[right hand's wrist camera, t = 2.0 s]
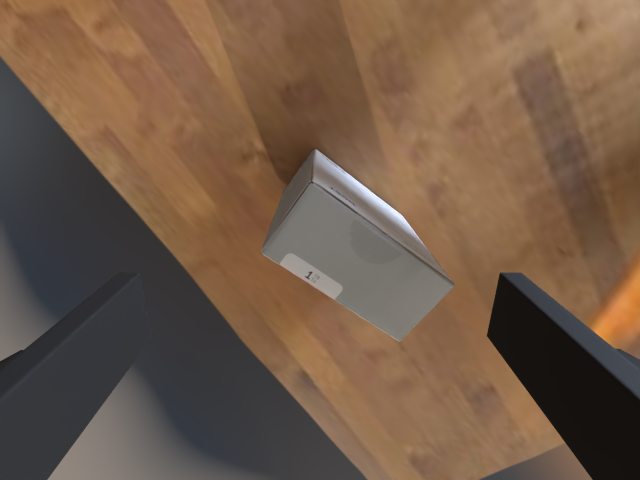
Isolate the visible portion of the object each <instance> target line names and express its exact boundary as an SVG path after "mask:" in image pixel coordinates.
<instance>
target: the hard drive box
mask: <svg viewBox="0 0 640 480" xmlns="http://www.w3.org/2000/svg"><path fill="white" fill-rule="evenodd" d="M260 253H261V254H263V255H264V256H266V257H267V258H269V259H271V260H272V261H274V262H275V263H277V264H278V265H280V266H281V267H283V268H284V269H286V270H287V271H289V272H291V273H292V274H294V275H295V276H297V277H299V278H300V279H302V280H303V281H305V282H306V283H308V284H309V285H311V286H313V287H314V288H316V289H317V290H319V291H321V292H322V293H324V294H325V295H327V296H328V297H330V298H332V299H333V300H335V301H337V302H338V303H340V304H342V305H343V306H345V307H346V308H348V309H349V310H351V311H352V312H354V313H355V314H357V315H358V316H360V317H361V318H363V319H365V320H366V321H368V322H369V323H371V324H373V325H374V326H376V327H377V328H379V329H380V330H382V331H383V332H385V333H387V334H388V335H390V336H391V337H393V338H394V339H396V340H397V341H401V340H402V339H403V338H404V337H405V336H406V335H407V334H408V333H409V332H410V331H411V330H412V329H413V328H414V327H415V326H416V325H417V324H418V323H419V322H420V321H421V320H422V319H423V318H424V317H425V316H426V315H427V314H428V313H429V312H430V311H431V310H432V309H433V307H434V306H435V305H436V304H437V303H438V302H439V301H440V300H441V299H442V298H443V297H444V296H445V295H446V294H447V293H448V292H449V291H450V290H451V289H452V288H453V287H454V283H453V282H452V280H451V279H450V278H449V277H448V275H447V274H446V273H445V271H444V270H443V269H442V267H441V266H440V265H439V263H438V262H437V261H436V259H435V258H434V257H433V255H432V254H431V253H430V251H429V250H428V249H427V248H426V246H425V245H424V244H423V242H422V241H421V240H420V238H419V237H418V236H417V234H416V233H415V232H414V230H413V229H412V228H411V226H410V225H409V224H408V223H407V221H406V220H405V219H404V217H403V216H402V215H401V214H400V213H398V212H397V211H396V210H394V209H393V208H392V207H390V206H389V205H388V204H387V203H385V202H384V201H383V200H381V199H380V198H379V197H377V196H376V195H375V194H373V193H372V192H371V191H370V190H368V189H367V188H366V187H365V186H363V185H362V184H361V183H359V182H358V181H357V180H356V179H354V178H353V177H352V176H350V175H349V174H348V173H347V172H345V171H344V170H343V169H341V168H340V167H339V166H338V165H336V164H335V163H334V162H332V161H331V160H330V159H328V158H327V157H326V156H325V155H323V154H322V153H321V152H319V151H318V150H317V149H315V150H312V151H311V153H310V154H309V155H308V157H307V158H306V160H305V161H304V162H303V164H302V165H301V167H300V168H299V170H298V171H297V173H296V174H295V176H294V177H293V178H292V180H291V181H290V183H289V184H288V186H287V187H286V189H285V190H284V192H283V195H282V197H281V200H280V203H279V205H278V208H277V210H276V213H275V216H274V218H273V221H272V223H271V226H270V229H269V231H268V234H267V237H266V240H265V242H264V245H263V248H262V250H261V252H260Z"/></svg>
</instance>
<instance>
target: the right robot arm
mask: <svg viewBox="0 0 640 480" xmlns="http://www.w3.org/2000/svg"><path fill="white" fill-rule="evenodd" d="M152 337H153V333H152V328H151V324H150V319H149V314H148V309H147V304H146V299H145V295H144V290H143V285H142V280H141V275H140V273H118V274H117V275H116V276H114V277H113V278H112V279H111V280H109V281H108V282H107V283H106V284H104V285H103V286H102V287H101V288H100V289H98V290H97V291H96V292H95V293H93V294H92V295H91V296H90V297H88V298H87V299H86V300H85V301H84V302H82V303H81V304H80V305H79V306H77V307H76V308H75V309H74V310H73V311H71V312H70V313H69V314H68V315H66V316H65V317H64V318H63V319H61V320H60V321H59V322H58V323H57V324H55V325H54V326H53V327H52V328H50V329H49V330H48V331H47V332H46V333H44V334H43V335H42V336H41V337H39V338H38V339H37V340H36V341H35V342H33V343H32V344H31V345H30V346H28V347H27V348H26V349H25V350H20V351H19V352H17V353H15V354H13V355H11V356H9V357H7V358H6V359H4V360H2V361H0V480H47V479H48V478H49V477H50V475H51V474H52V472H53V471H54V470H55V468H56V467H57V466H58V464H59V463H60V462H61V460H62V459H63V457H64V456H65V455H66V453H67V452H68V451H69V449H70V448H71V447H72V445H73V444H74V443H75V441H76V440H77V439H78V437H79V436H80V434H81V433H82V432H83V430H84V429H85V428H86V426H87V425H88V424H89V422H90V421H91V420H92V418H93V417H94V415H95V414H96V413H97V411H98V410H99V409H100V407H101V406H102V405H103V403H104V402H105V400H106V399H107V398H108V396H109V395H110V394H111V392H112V391H113V390H114V388H115V387H116V386H117V384H118V383H119V381H120V380H121V379H122V377H123V376H124V375H125V373H126V372H127V371H128V369H129V368H130V366H131V365H132V364H133V362H134V361H135V360H136V358H137V357H138V356H139V354H140V353H141V352H142V350H143V349H144V347H145V346H146V345H147V343H148V342H149V341H150V339H151V338H152ZM487 337H488V338H489V339H490V341H491V342H492V343H493V345H494V346H495V347H496V349H497V350H498V352H499V353H500V354H501V356H502V357H503V358H504V360H505V361H506V362H507V364H508V365H509V367H510V368H511V369H512V371H513V372H514V373H515V375H516V376H517V377H518V379H519V380H520V381H521V383H522V384H523V386H524V387H525V388H526V390H527V391H528V392H529V394H530V395H531V396H532V398H533V399H534V400H535V402H536V403H537V405H538V406H539V407H540V409H541V410H542V411H543V413H544V414H545V415H546V417H547V418H548V420H549V421H550V422H551V424H552V425H553V426H554V428H555V429H556V430H557V432H558V433H559V434H560V436H561V437H562V439H563V440H564V441H565V443H566V444H567V445H568V447H569V448H570V449H571V451H572V452H573V453H574V455H575V456H576V458H577V459H578V460H579V462H580V463H581V464H582V466H583V467H584V468H585V470H586V471H587V473H588V474H589V475H590V477H591V478H592V479H593V480H640V360H639V359H637V358H635V357H634V356H632V355H630V354H628V353H626V352H624V351H622V350H620V349H614V348H613V347H612V346H610V345H609V344H608V343H607V342H606V341H604V340H603V339H602V338H601V337H599V336H598V335H597V334H596V333H594V332H593V331H592V330H591V329H590V328H588V327H587V326H586V325H585V324H583V323H582V322H581V321H580V320H579V319H577V318H576V317H575V316H574V315H572V314H571V313H570V312H569V311H567V310H566V309H565V308H564V307H563V306H561V305H560V304H559V303H558V302H556V301H555V300H554V299H553V298H552V297H550V296H549V295H548V294H547V293H545V292H544V291H543V290H542V289H540V288H539V287H538V286H537V285H536V284H534V283H533V282H532V281H531V280H529V279H528V278H527V277H526V276H524V275H523V274H522V273H500V275H499V280H498V285H497V290H496V295H495V299H494V304H493V309H492V314H491V319H490V324H489V328H488V333H487Z"/></svg>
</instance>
